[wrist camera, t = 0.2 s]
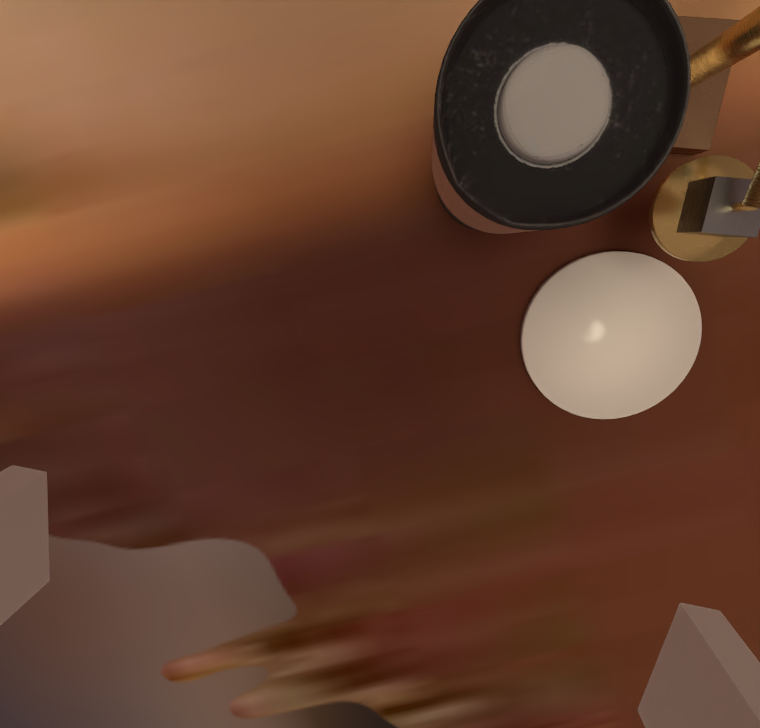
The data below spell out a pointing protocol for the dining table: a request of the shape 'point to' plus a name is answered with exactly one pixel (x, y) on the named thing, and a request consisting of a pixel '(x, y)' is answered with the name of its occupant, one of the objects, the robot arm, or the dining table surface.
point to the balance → (711, 173)
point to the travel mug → (556, 110)
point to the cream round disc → (610, 334)
